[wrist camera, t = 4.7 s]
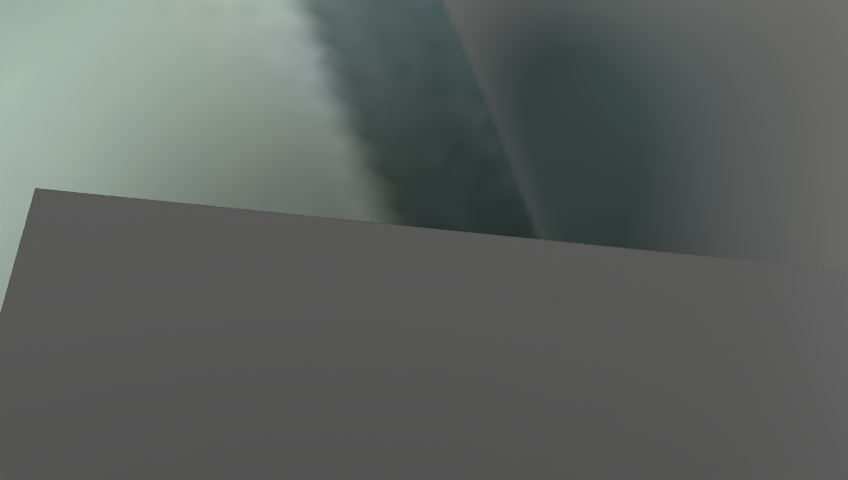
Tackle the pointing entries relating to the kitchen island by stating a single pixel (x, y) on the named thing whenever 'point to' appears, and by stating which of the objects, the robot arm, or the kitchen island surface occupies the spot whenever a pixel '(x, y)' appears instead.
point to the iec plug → (404, 353)
